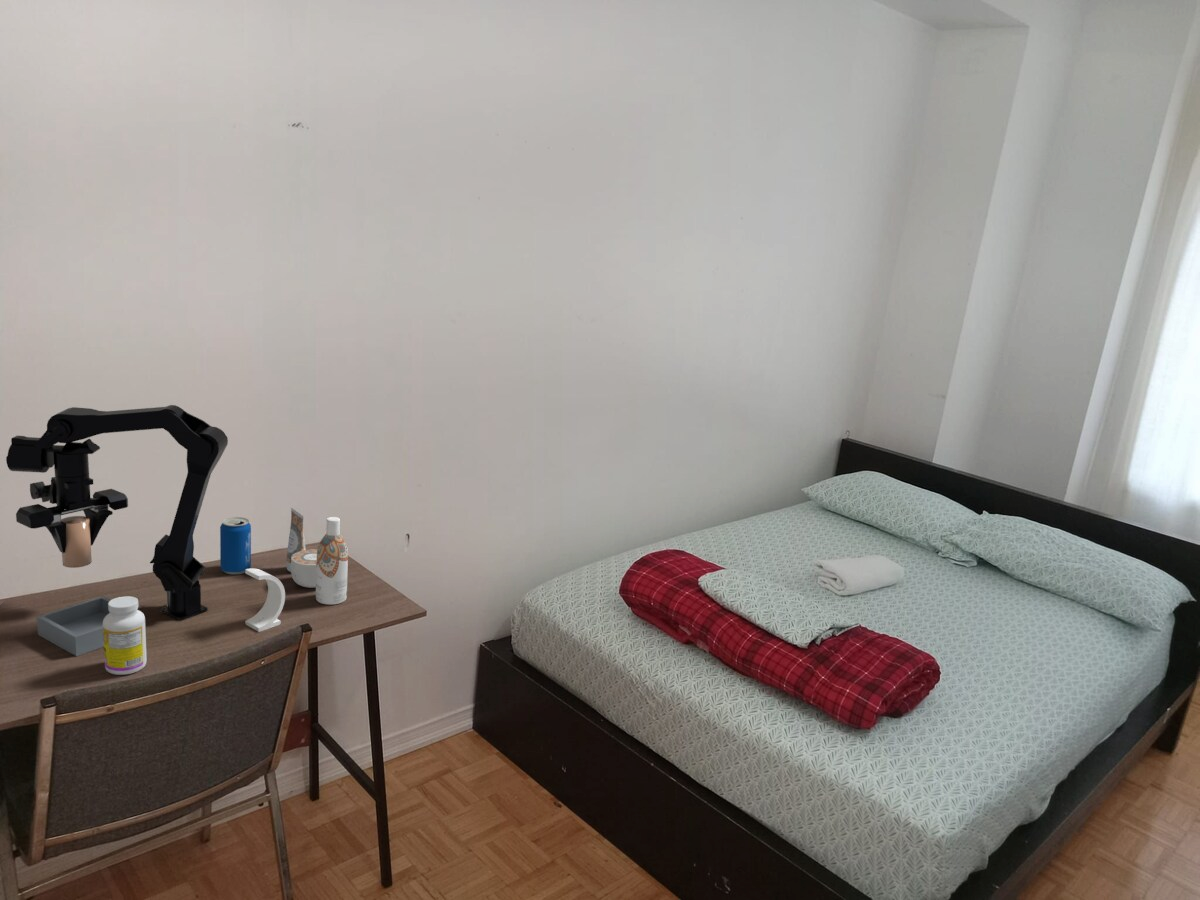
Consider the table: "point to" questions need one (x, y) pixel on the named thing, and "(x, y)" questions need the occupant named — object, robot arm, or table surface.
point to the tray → (76, 626)
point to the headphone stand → (267, 602)
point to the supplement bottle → (124, 637)
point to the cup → (77, 542)
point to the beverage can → (235, 545)
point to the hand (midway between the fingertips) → (76, 548)
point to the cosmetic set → (319, 561)
